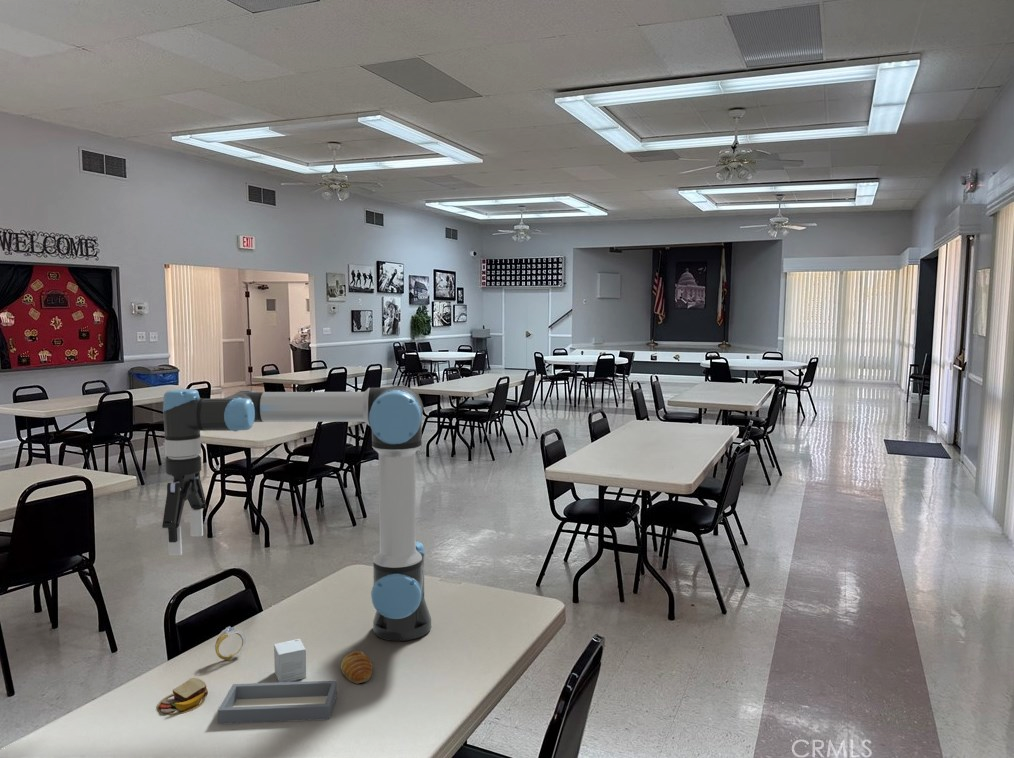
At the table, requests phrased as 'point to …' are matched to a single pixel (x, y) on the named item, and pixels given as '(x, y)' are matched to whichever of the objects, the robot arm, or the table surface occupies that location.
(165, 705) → the toy sandwich meal
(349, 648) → the table surface
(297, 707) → the tray
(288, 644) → the product box
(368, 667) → the pastry
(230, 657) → the ring
